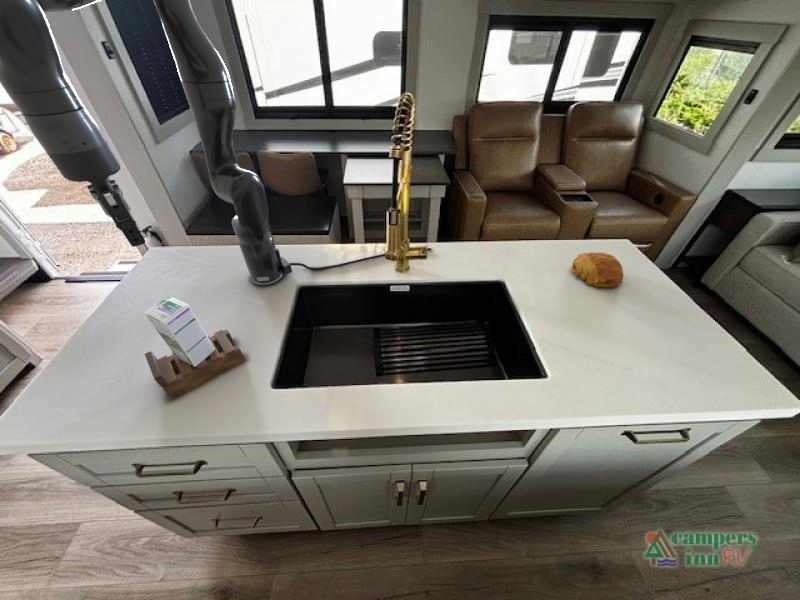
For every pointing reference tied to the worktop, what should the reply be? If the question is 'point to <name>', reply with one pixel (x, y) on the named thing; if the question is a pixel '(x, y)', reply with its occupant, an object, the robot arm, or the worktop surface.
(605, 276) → the croissant
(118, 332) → the worktop surface
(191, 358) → the syrup box
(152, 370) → the rack
